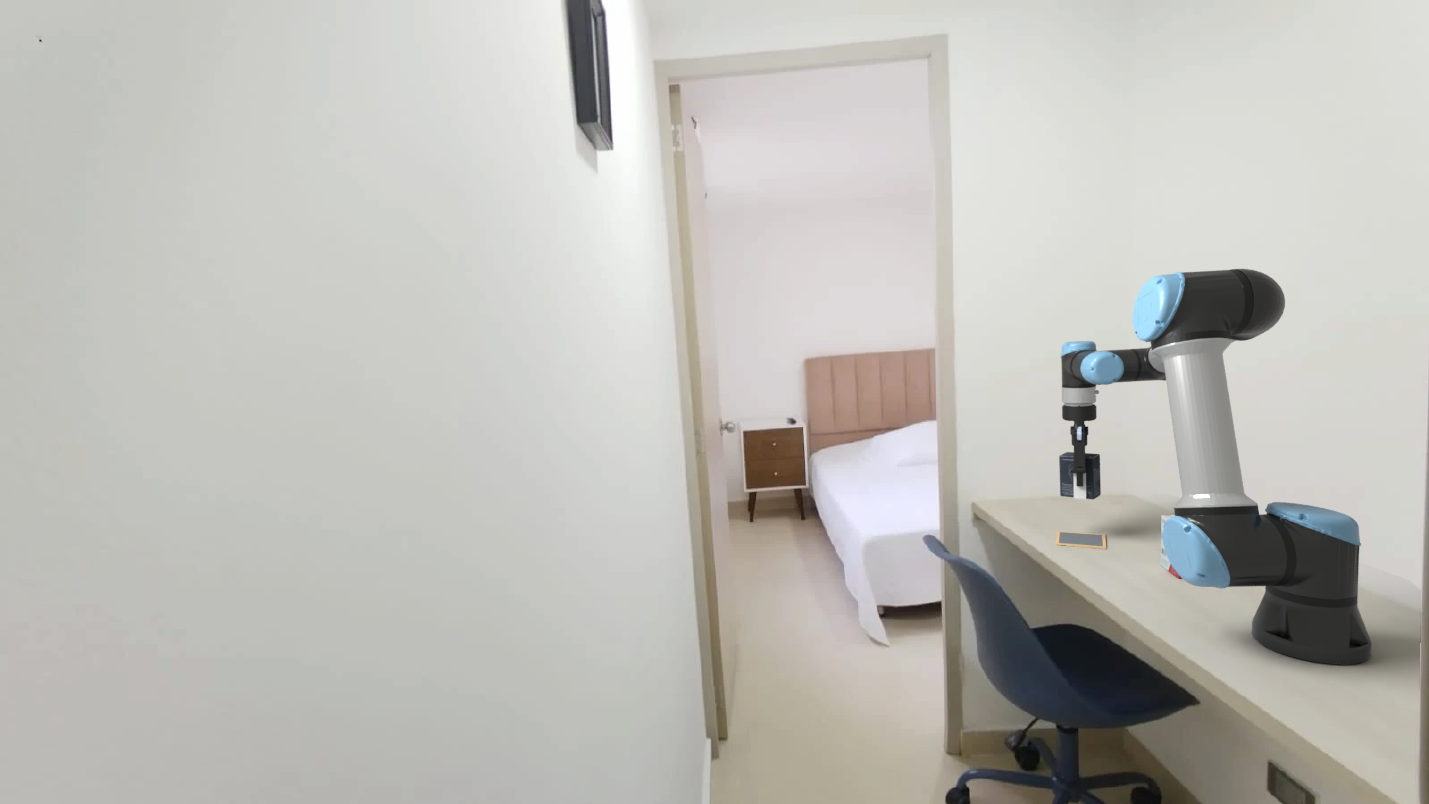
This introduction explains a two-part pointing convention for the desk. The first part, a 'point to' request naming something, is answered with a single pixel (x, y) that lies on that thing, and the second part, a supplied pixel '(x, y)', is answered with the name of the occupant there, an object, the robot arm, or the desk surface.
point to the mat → (1081, 539)
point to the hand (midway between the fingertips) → (1080, 494)
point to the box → (1091, 472)
